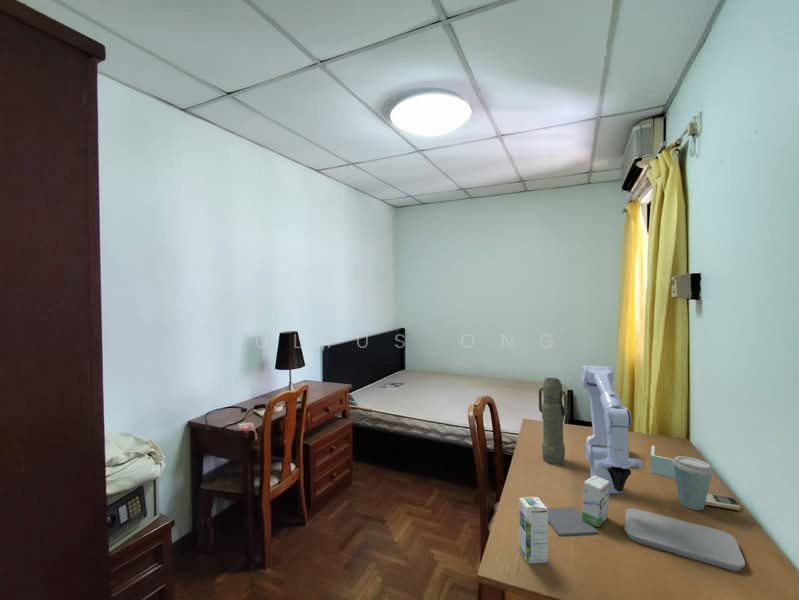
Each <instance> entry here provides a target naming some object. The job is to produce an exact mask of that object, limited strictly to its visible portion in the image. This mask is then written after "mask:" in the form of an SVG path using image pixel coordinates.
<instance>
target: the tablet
mask: <svg viewBox="0 0 799 600" xmlns="http://www.w3.org/2000/svg"><path fill="white" fill-rule="evenodd" d="M624 532H625V534H626V535H627V537H628V538H629V539H630V540H632V541H634V542H635V543H639V544H640V545H645V546H648V547H652V548H655V549H659V550H661V551H666V552H669V553H672V554H674V555H675V554H676V555H679V556H682V557H686V558H689V559H693V560H695V561H699V562H702V563H706V564H709V565H712V566H716V567H719V568H723V569H725V570H726V569H727V570H728V571H729V570H730V571H734V572H738V571H741V570H742V568H744V567H745V566H746V562H745V559H744V557H743V556H744V555H743V554H742V551H741V550H740V549H741V548H740V547H739V544H738V542H737V539H736V538H735V537H734V536H733V535H732V534H730V533H728V532H727V531H723V530H720V529H717V528H713V527H709V526H705V525H701V524H697V523H693V522H688V521H685V520H682V519H677V518H673V517H670V516H666V515H662V514H658V513H654V512H650V511H645V510H641V509H638V508H633V507H632V508H631V507H630V508H627V509H625V513H624Z"/></svg>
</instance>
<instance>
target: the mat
mask: <svg viewBox="0 0 799 600" xmlns="http://www.w3.org/2000/svg"><path fill="white" fill-rule="evenodd" d="M547 508H548V524H549V525H550V527H551V528H552V530H554V532H555V533H556V535H558V536H559V537H563V536H564V537H565V536H579V535H581V536H584V535H597V534H598V535H599V531H598V529H597V528H595V527H594V525H592V524H590V523H588V522H586V521H583V520H582V512H580V511H579V510H578V509H577V508H576V507H575V506H563V507H562V506H561V507H547Z"/></svg>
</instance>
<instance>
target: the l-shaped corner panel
mask: <svg viewBox="0 0 799 600" xmlns="http://www.w3.org/2000/svg"><path fill="white" fill-rule="evenodd" d="M673 459H674V458H671V457H666V456H659V455H656V445H651V450H650V473H651V474H654V473H656V474H655V475H658V474H660V476H662V475H664V477H667V476H668V478H671V477H672V479H676V478H675V472H674V465H673V463H672V462H673Z"/></svg>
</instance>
